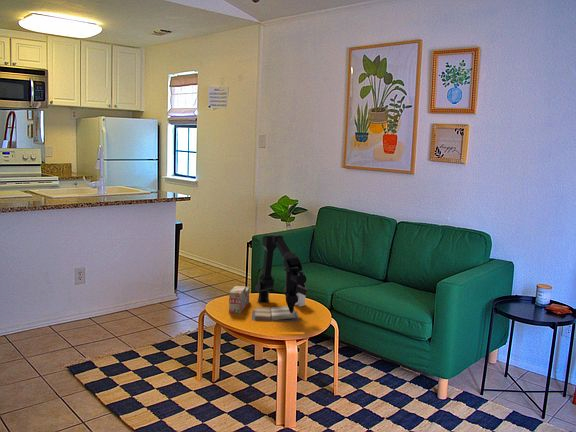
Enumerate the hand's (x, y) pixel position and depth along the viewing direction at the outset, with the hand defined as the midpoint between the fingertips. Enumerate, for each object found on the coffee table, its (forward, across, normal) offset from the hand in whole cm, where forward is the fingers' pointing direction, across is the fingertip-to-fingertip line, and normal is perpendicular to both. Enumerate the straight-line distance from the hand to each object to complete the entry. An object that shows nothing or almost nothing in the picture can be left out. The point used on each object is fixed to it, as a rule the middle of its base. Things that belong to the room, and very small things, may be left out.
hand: (290, 309), depth 285 cm
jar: (+5, +23, -5) cm, 24 cm away
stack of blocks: (+4, +14, +27) cm, 31 cm away
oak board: (+3, 0, +15) cm, 15 cm away
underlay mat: (+4, 0, +8) cm, 9 cm away
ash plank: (+2, 0, +4) cm, 5 cm away
